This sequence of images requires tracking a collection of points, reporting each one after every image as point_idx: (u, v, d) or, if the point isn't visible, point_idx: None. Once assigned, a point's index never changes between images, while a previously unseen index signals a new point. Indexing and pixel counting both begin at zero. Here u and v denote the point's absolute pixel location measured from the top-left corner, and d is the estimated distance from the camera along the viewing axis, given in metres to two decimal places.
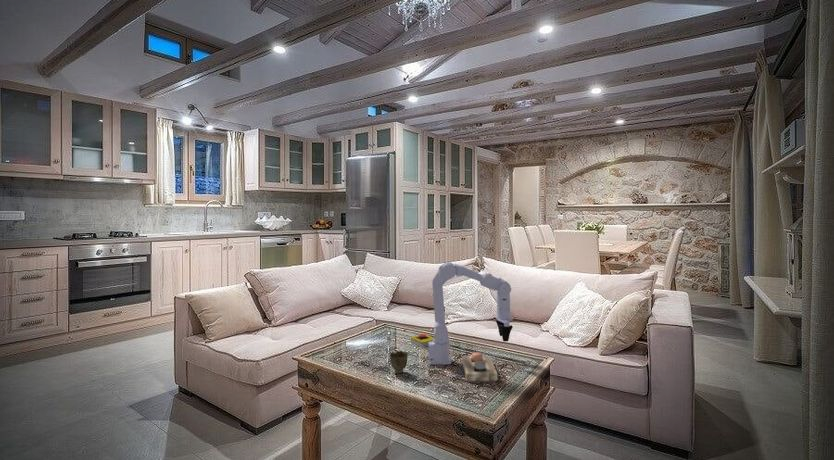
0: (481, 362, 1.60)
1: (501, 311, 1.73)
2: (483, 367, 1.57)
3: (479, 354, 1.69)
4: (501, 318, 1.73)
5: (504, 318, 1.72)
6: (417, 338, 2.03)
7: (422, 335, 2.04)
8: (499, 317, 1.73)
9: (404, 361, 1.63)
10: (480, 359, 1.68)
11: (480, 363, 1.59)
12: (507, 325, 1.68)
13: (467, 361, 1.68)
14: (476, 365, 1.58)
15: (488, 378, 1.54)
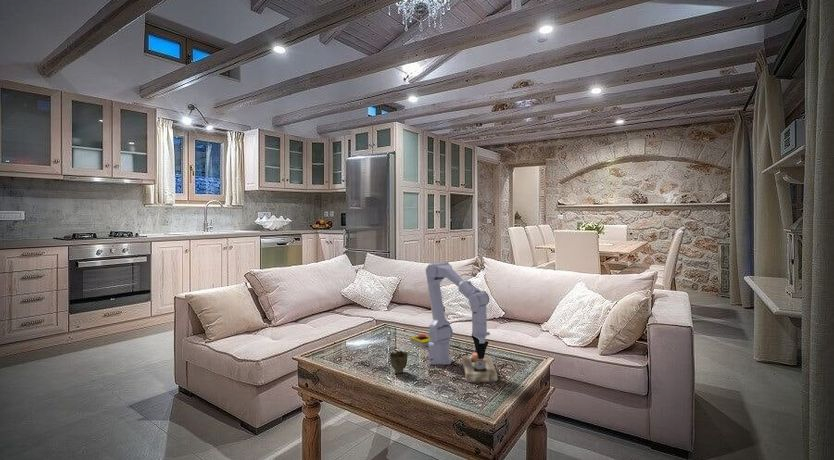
0: (481, 362, 1.60)
1: (476, 326, 1.56)
2: (483, 367, 1.57)
3: None
4: (476, 333, 1.56)
5: (480, 333, 1.56)
6: (417, 338, 2.02)
7: (422, 335, 2.03)
8: (474, 332, 1.57)
9: (404, 361, 1.63)
10: (480, 359, 1.68)
11: (480, 363, 1.59)
12: (482, 342, 1.52)
13: (467, 361, 1.68)
14: (476, 365, 1.58)
15: (488, 378, 1.54)
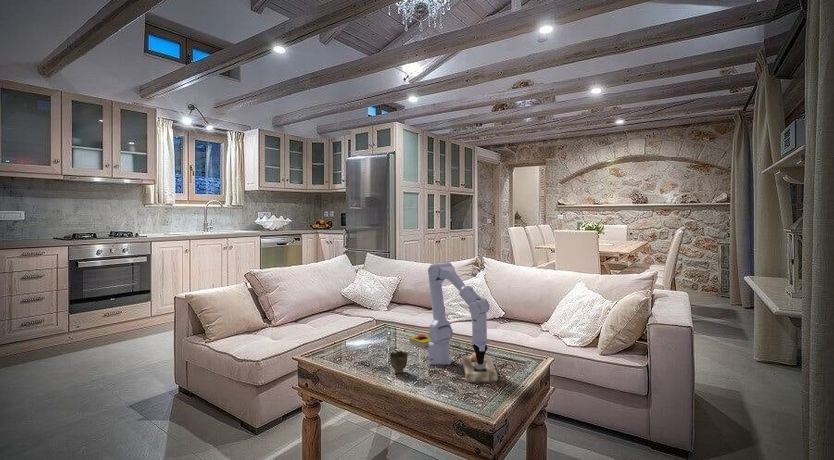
0: None
1: (476, 333, 1.56)
2: (483, 367, 1.57)
3: None
4: (476, 341, 1.57)
5: (480, 341, 1.56)
6: (416, 339, 2.02)
7: (421, 335, 2.03)
8: (474, 340, 1.57)
9: (404, 361, 1.63)
10: None
11: None
12: (482, 350, 1.52)
13: (467, 361, 1.68)
14: (476, 365, 1.58)
15: (488, 378, 1.54)
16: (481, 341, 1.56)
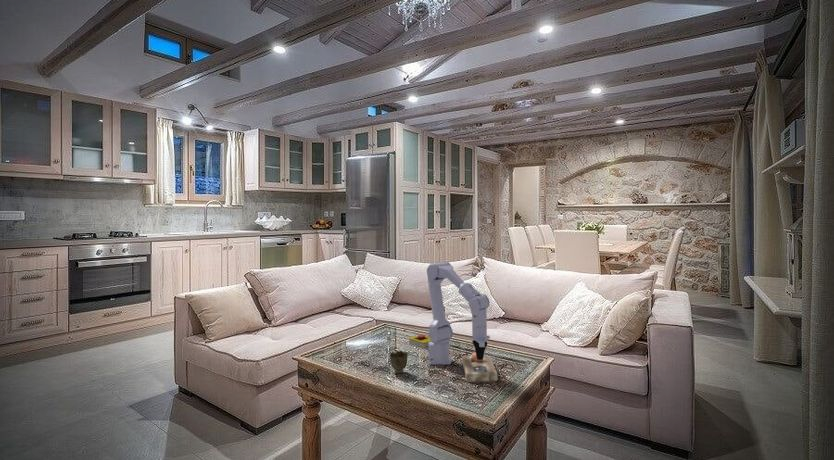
0: (481, 367, 1.60)
1: (476, 329, 1.56)
2: None
3: None
4: (476, 337, 1.57)
5: (480, 337, 1.56)
6: (416, 339, 2.01)
7: (421, 336, 2.03)
8: (474, 336, 1.57)
9: (404, 361, 1.63)
10: None
11: (480, 368, 1.59)
12: (482, 345, 1.52)
13: (467, 361, 1.68)
14: (476, 370, 1.58)
15: (488, 378, 1.54)
16: (481, 337, 1.56)
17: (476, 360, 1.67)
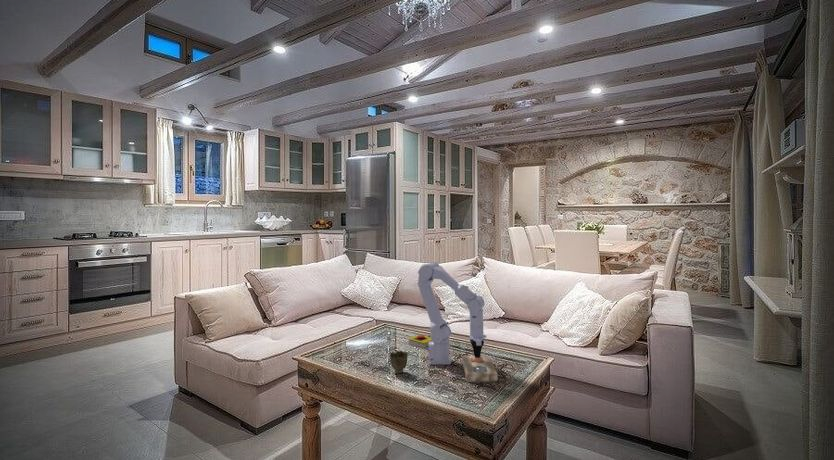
0: (481, 367, 1.60)
1: (474, 329, 1.67)
2: None
3: None
4: (474, 336, 1.67)
5: (477, 336, 1.66)
6: (416, 339, 2.01)
7: (420, 336, 2.02)
8: (472, 335, 1.67)
9: (404, 361, 1.63)
10: None
11: (480, 368, 1.59)
12: (479, 344, 1.62)
13: (467, 361, 1.68)
14: (476, 370, 1.58)
15: (488, 378, 1.54)
16: (478, 336, 1.66)
17: None
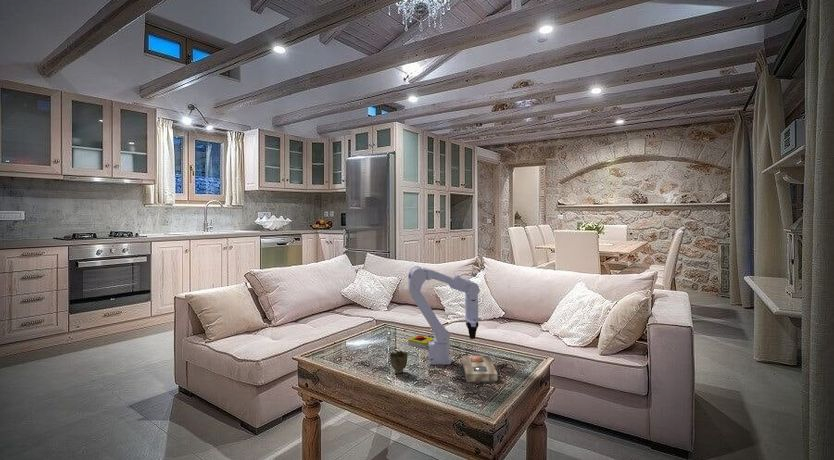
0: (481, 367, 1.60)
1: (469, 312, 1.76)
2: None
3: (479, 357, 1.69)
4: (469, 318, 1.76)
5: (472, 318, 1.76)
6: (416, 340, 2.00)
7: (420, 336, 2.02)
8: (467, 317, 1.77)
9: (404, 361, 1.63)
10: None
11: (480, 368, 1.59)
12: (474, 325, 1.71)
13: (467, 361, 1.68)
14: (476, 370, 1.58)
15: (488, 378, 1.54)
16: (473, 318, 1.76)
17: None
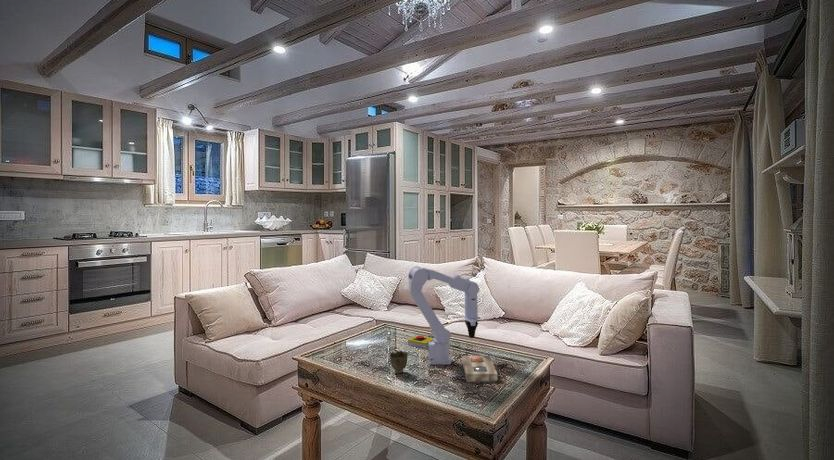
0: (481, 367, 1.60)
1: (468, 311, 1.77)
2: None
3: (479, 357, 1.69)
4: (468, 317, 1.77)
5: (471, 317, 1.77)
6: (416, 340, 2.00)
7: (420, 336, 2.02)
8: (466, 316, 1.78)
9: (404, 361, 1.63)
10: None
11: (480, 368, 1.59)
12: (473, 324, 1.73)
13: (467, 361, 1.68)
14: (476, 370, 1.58)
15: (488, 378, 1.54)
16: (472, 317, 1.77)
17: None
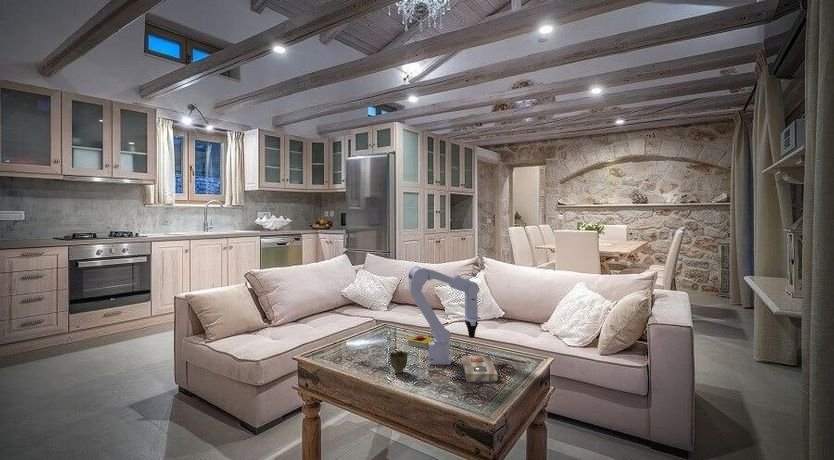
0: (481, 367, 1.60)
1: (468, 311, 1.77)
2: None
3: (479, 357, 1.69)
4: (468, 317, 1.77)
5: (471, 317, 1.77)
6: (416, 340, 2.00)
7: (420, 336, 2.01)
8: (466, 316, 1.78)
9: (404, 361, 1.63)
10: None
11: (480, 368, 1.59)
12: (473, 324, 1.73)
13: (467, 361, 1.68)
14: (476, 370, 1.58)
15: (488, 378, 1.54)
16: (472, 317, 1.77)
17: None
